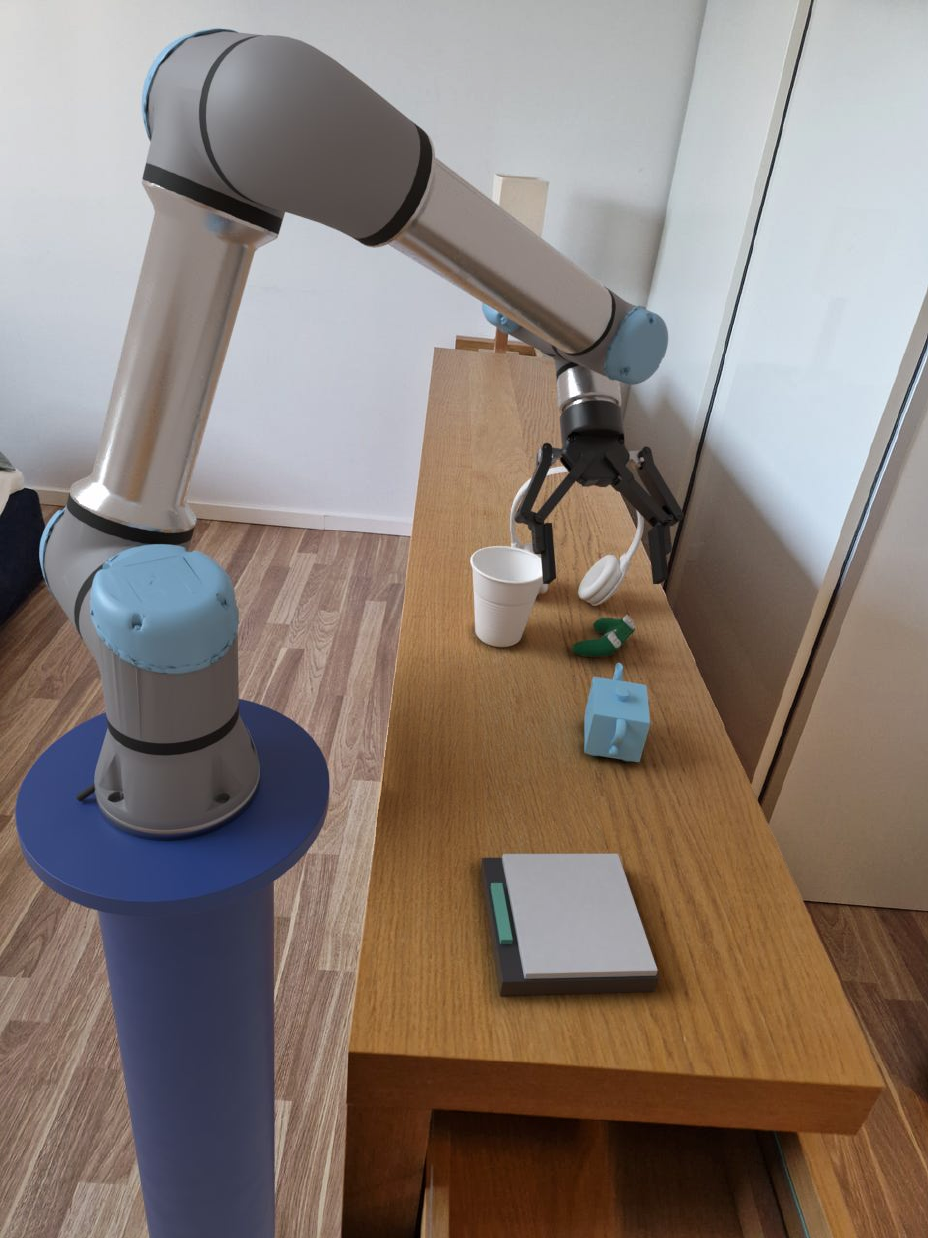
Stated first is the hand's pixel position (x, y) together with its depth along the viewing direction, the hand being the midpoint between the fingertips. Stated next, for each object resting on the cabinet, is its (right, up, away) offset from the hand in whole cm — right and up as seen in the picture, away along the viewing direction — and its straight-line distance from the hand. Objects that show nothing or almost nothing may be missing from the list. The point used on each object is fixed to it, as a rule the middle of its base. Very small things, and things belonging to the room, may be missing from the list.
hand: (606, 581), depth 101 cm
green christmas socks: (+2, -8, +16) cm, 18 cm away
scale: (-8, -31, -24) cm, 40 cm away
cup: (-12, -7, +16) cm, 21 cm away
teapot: (0, -18, -1) cm, 18 cm away
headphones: (-2, -1, +26) cm, 27 cm away
